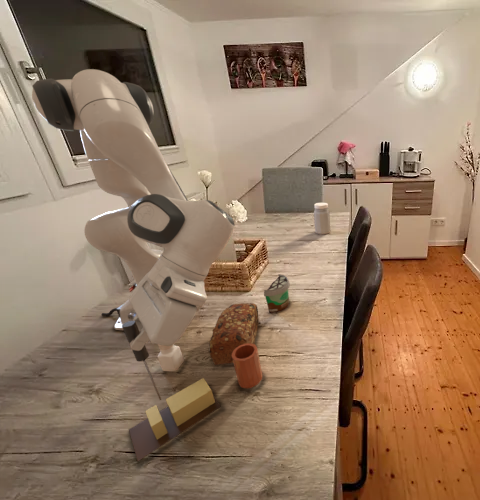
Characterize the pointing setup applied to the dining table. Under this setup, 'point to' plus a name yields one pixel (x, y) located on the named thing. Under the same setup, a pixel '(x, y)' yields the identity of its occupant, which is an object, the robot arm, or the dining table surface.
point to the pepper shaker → (170, 357)
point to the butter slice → (156, 422)
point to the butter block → (190, 401)
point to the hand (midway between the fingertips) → (132, 344)
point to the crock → (247, 365)
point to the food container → (278, 294)
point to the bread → (233, 331)
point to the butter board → (146, 438)
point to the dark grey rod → (133, 331)
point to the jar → (321, 218)
